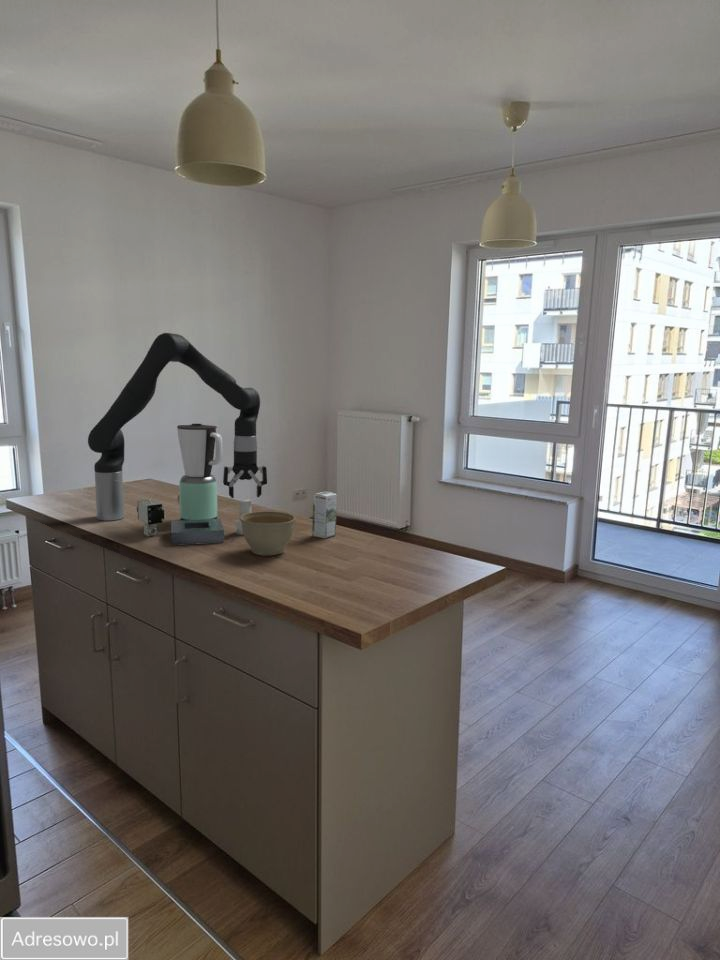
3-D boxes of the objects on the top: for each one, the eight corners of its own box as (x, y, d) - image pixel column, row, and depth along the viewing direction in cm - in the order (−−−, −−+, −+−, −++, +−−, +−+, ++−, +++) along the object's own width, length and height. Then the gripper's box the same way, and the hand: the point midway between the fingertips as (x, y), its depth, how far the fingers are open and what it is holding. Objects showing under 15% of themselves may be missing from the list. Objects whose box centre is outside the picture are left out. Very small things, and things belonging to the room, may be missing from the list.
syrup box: (322, 532, 218) (323, 490, 216) (336, 535, 215) (337, 493, 213) (311, 536, 214) (312, 493, 211) (325, 539, 211) (326, 495, 208)
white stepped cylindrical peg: (235, 531, 218) (235, 499, 216) (253, 530, 220) (253, 498, 218) (237, 535, 212) (237, 503, 210) (255, 534, 214) (255, 502, 212)
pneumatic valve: (150, 540, 204) (149, 503, 202) (136, 532, 213) (135, 496, 211) (167, 537, 208) (166, 501, 206) (153, 530, 217) (152, 495, 214)
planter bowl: (250, 562, 184) (250, 525, 182) (234, 548, 198) (233, 513, 196) (302, 556, 191) (303, 520, 189) (283, 542, 205) (283, 509, 203)
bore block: (171, 532, 214) (171, 520, 213) (220, 530, 218) (220, 518, 218) (171, 545, 199) (171, 532, 198) (224, 542, 203) (224, 530, 203)
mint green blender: (167, 522, 227) (164, 423, 221) (193, 515, 239) (191, 421, 233) (209, 529, 219) (208, 427, 213) (234, 521, 231) (233, 424, 225)
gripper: (265, 447, 217) (264, 494, 219) (222, 447, 213) (222, 495, 215) (268, 450, 210) (268, 499, 212) (224, 450, 206) (224, 500, 208)
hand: (245, 497), depth 214 cm, fingers open, 8 cm apart
